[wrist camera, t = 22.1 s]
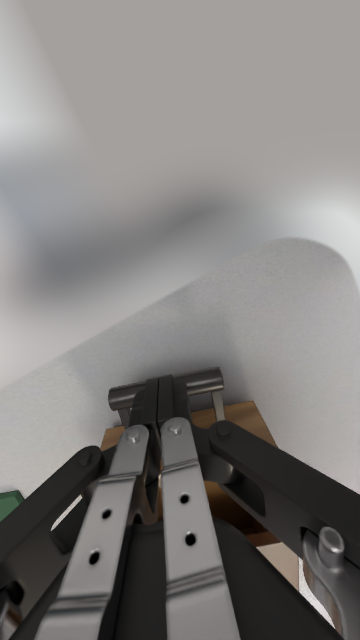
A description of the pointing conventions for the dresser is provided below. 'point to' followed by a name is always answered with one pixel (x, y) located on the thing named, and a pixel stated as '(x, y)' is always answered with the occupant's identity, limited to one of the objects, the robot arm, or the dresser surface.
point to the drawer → (236, 413)
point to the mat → (9, 503)
